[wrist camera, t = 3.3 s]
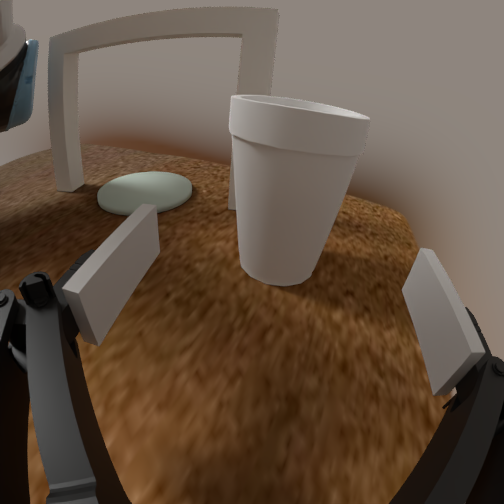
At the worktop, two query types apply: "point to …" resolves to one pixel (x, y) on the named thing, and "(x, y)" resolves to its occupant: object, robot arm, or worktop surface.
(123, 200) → the keeper arch
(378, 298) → the worktop surface
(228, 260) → the worktop surface
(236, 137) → the foam cup
